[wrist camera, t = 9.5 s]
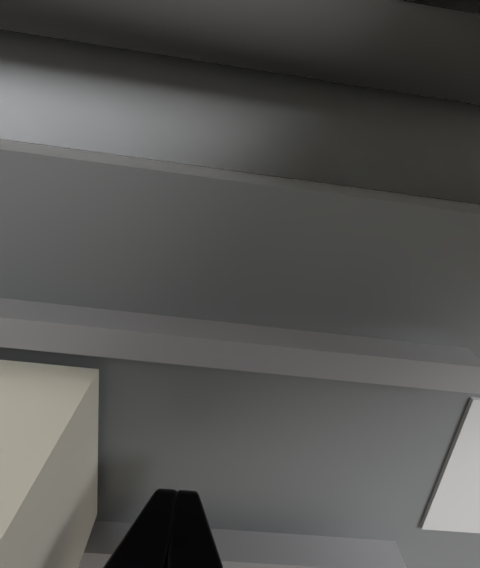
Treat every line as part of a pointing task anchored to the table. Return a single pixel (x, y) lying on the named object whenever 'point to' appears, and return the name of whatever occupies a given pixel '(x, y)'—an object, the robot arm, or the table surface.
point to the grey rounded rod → (281, 37)
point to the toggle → (47, 463)
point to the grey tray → (257, 351)
